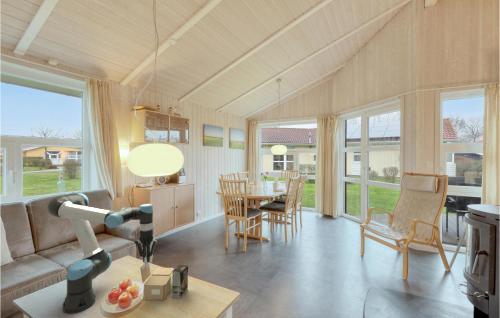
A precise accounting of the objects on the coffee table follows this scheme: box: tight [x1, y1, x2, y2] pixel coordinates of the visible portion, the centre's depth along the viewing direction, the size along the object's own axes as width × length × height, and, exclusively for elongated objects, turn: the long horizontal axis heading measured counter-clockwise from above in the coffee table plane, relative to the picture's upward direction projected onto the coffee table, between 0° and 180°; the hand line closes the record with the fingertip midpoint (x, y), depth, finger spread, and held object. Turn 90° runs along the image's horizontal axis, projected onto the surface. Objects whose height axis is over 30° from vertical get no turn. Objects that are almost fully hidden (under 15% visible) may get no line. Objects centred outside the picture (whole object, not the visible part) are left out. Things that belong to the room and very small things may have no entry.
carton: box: [143, 267, 175, 301], centre depth 146 cm, size 13×20×10 cm, turn 0°
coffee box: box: [171, 264, 189, 300], centre depth 142 cm, size 9×6×16 cm
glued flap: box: [139, 261, 152, 284], centre depth 141 cm, size 1×10×9 cm, turn 0°
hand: (146, 267), depth 141 cm, fingers closed
